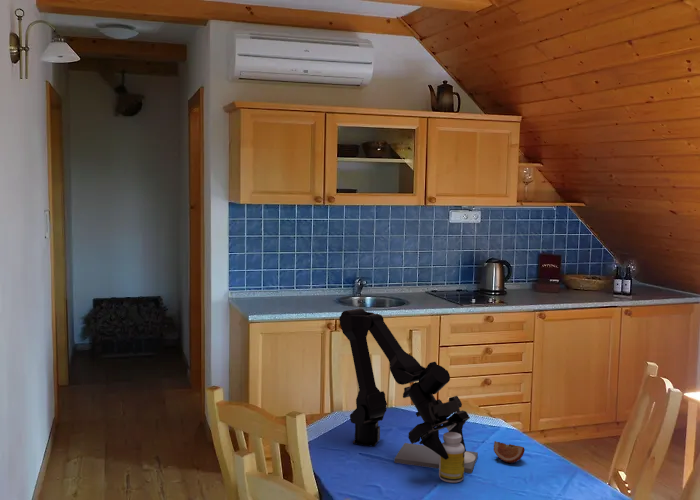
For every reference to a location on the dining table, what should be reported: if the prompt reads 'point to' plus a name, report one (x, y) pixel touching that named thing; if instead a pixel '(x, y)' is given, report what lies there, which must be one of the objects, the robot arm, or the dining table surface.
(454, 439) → the pill bottle
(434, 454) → the panel board
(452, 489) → the dining table surface
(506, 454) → the fruit slice
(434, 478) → the dining table surface
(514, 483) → the dining table surface
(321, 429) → the dining table surface
